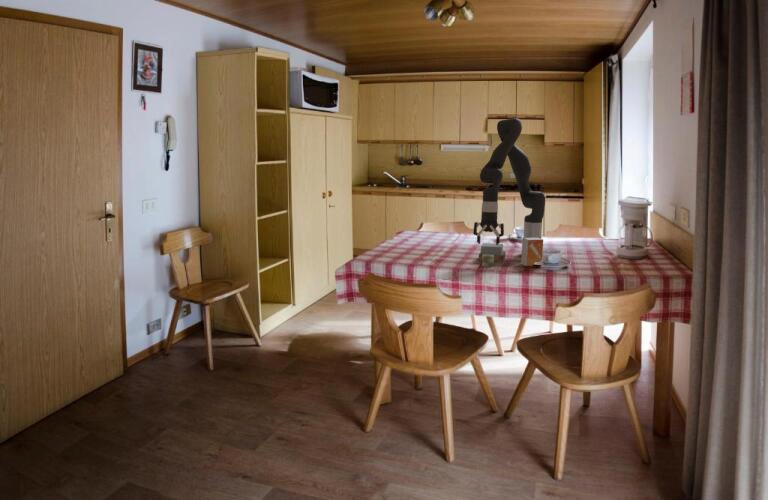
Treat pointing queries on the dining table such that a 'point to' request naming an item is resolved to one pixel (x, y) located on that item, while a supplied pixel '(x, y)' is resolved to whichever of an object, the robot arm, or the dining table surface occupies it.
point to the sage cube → (488, 260)
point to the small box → (531, 251)
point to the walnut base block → (495, 257)
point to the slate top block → (491, 249)
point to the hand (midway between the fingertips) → (488, 244)
